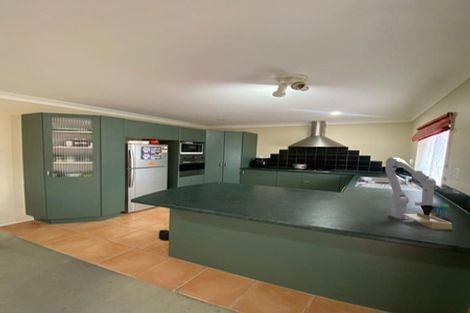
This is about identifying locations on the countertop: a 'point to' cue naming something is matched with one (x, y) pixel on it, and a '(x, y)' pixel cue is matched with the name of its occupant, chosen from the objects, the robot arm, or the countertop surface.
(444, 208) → the snack cup
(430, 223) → the mailer box
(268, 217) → the countertop surface
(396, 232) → the countertop surface
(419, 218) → the mailer lid
